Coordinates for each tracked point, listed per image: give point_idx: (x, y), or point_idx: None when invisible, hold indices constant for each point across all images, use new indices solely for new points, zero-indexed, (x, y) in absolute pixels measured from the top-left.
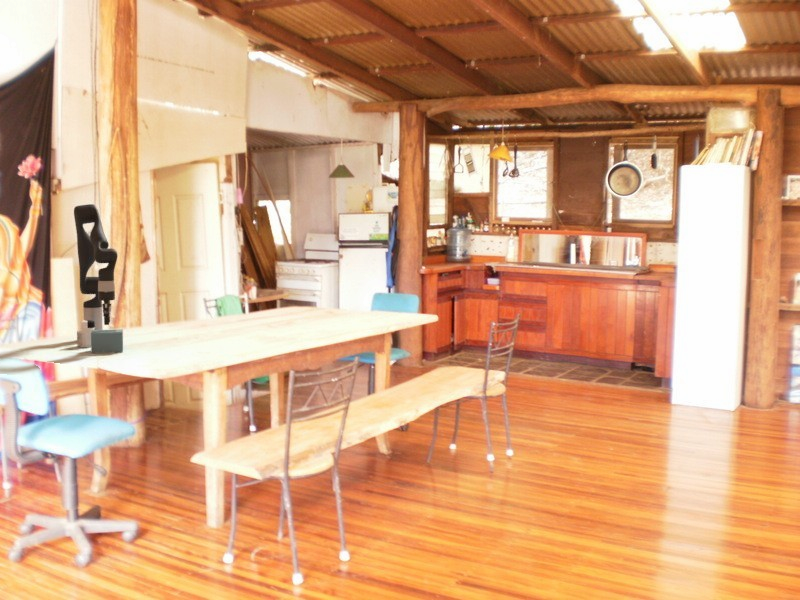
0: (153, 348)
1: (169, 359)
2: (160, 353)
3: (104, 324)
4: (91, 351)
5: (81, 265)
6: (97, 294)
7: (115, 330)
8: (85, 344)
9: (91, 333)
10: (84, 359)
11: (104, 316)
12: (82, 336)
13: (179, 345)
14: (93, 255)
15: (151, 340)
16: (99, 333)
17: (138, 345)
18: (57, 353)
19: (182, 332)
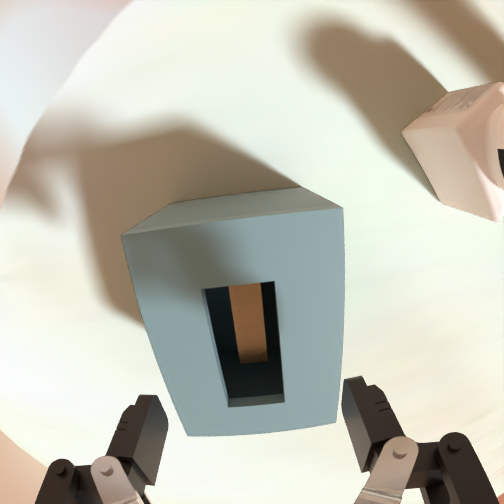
0: (307, 433)
1: (82, 452)
2: (180, 453)
3: (140, 395)
4: (168, 205)
5: None
6: None
7: (284, 399)
8: (410, 133)
9: (124, 238)
10: (12, 217)
11: (99, 464)
12: (453, 112)
13: (354, 466)
14: None
15: (488, 372)
16: (142, 305)
17: (406, 373)
18: (187, 18)
19: None
